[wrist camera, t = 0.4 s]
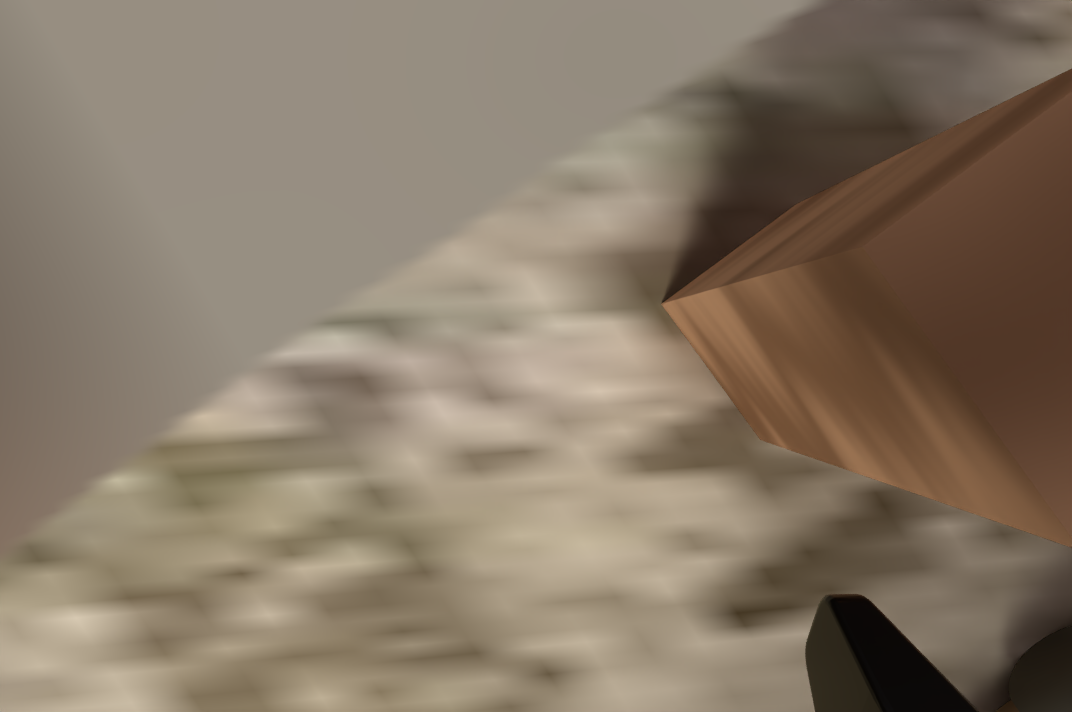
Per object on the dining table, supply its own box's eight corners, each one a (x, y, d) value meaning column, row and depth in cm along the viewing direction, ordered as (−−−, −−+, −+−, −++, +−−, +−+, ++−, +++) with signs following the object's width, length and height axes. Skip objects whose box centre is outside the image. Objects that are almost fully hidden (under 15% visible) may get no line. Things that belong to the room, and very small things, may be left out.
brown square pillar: (894, 339, 24) (1372, 327, 11) (760, 439, 24) (1081, 550, 11) (796, 203, 24) (1161, 24, 11) (661, 303, 23) (862, 245, 10)
